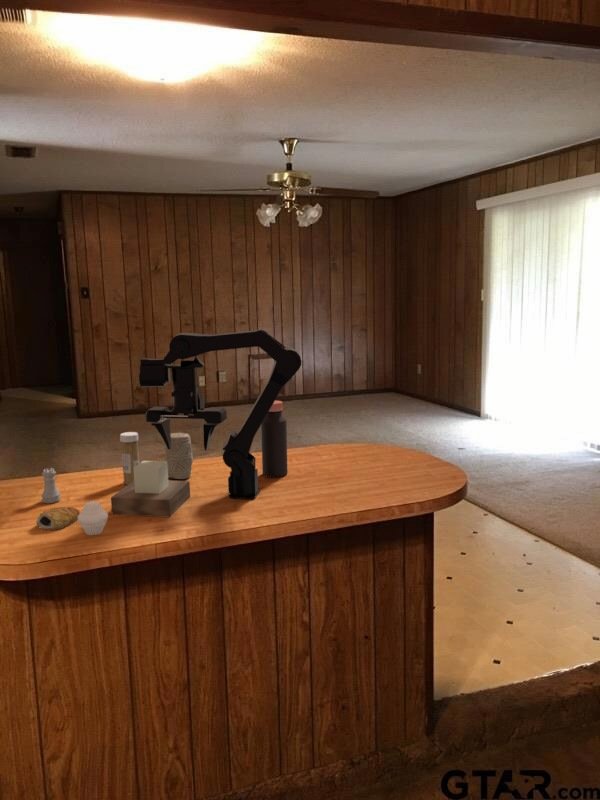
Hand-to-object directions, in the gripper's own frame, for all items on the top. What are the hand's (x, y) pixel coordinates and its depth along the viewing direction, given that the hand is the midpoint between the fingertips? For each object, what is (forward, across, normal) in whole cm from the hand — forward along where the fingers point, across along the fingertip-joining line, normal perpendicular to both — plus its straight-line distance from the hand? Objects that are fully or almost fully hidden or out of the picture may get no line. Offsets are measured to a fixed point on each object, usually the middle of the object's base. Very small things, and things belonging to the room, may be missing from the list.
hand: (187, 449), depth 164 cm
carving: (+12, +8, -15) cm, 21 cm away
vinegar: (+12, -17, -21) cm, 30 cm away
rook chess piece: (+12, +33, +7) cm, 36 cm away
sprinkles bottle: (+12, +19, -9) cm, 24 cm away
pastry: (+12, +23, +21) cm, 34 cm away
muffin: (+12, +13, +25) cm, 31 cm away
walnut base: (+12, +7, +7) cm, 16 cm away
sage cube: (+8, +7, +7) cm, 13 cm away
